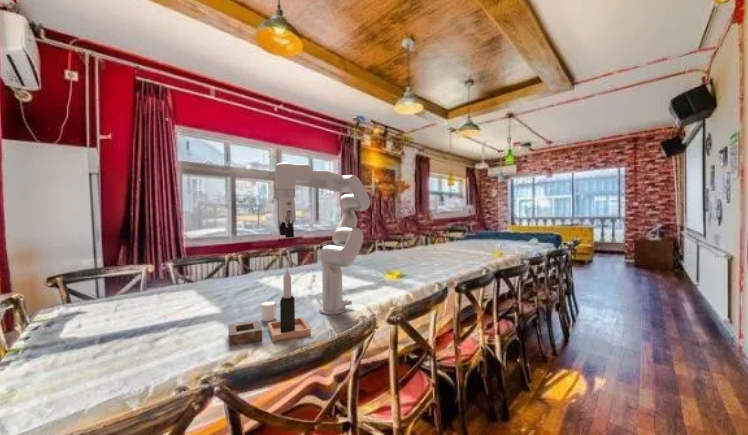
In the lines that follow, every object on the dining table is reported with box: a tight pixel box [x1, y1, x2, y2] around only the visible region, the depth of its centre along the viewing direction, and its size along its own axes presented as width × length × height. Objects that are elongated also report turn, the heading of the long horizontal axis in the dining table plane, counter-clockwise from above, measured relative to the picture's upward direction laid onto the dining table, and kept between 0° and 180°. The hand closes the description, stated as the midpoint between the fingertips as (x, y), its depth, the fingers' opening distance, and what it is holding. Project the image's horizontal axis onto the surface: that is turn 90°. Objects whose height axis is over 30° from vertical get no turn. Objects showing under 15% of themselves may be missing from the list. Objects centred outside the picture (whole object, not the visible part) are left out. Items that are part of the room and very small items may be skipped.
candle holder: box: [228, 319, 263, 347], centre depth 117 cm, size 11×11×4 cm
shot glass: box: [260, 300, 277, 322], centre depth 138 cm, size 7×7×7 cm
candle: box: [279, 268, 296, 333], centre depth 123 cm, size 5×5×25 cm
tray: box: [267, 316, 312, 343], centre depth 123 cm, size 14×14×2 cm
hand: (286, 236), depth 125 cm, fingers open, 9 cm apart
